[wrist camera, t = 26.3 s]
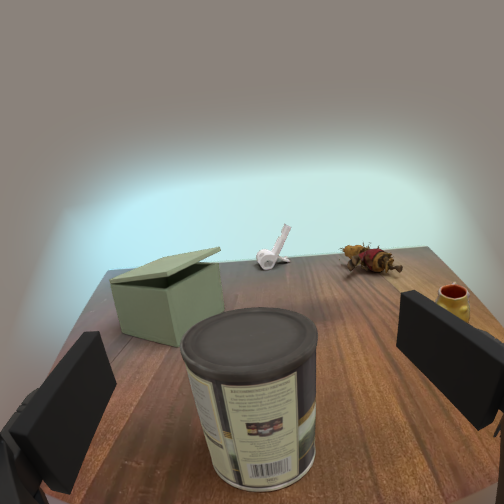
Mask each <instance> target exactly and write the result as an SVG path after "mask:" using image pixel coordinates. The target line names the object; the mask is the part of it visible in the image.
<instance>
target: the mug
mask: <svg viewBox="0 0 504 504" xmlns="http://www.w3.org/2000/svg"><path fill="white" fill-rule="evenodd" d="M469 296H470V294H469V293H468V291H467V289H466V288H465V287H463V286H460V285H457V283H456V282H453V283H452V285H445V286H443V287H441V288H440V289H439V291H438V297H437V299H436V302H435V303H437V304H438V305H440V306H441V307H443V308H445V309H446V310H448V311H449V312H451V313H453V314H454V315H456V316H457V317H459V318H460V319H462V320H463V321H465V322H467V323H469V319H470V305H469V301H468V298H469Z"/></svg>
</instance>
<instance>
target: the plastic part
mask: <svg viewBox="0 0 504 504" xmlns="http://www.w3.org/2000/svg"><path fill="white" fill-rule="evenodd" d="M290 229H291V227H290V226H288V225H286V224H284V227H283V229H282V231H281V233H282V235H281V237H278V239H277V241H276V243H275V245H274V247H273V249H272V251H269V250H267V249H263V250H260V251H259V252H258V253H257V255H256V259H257V261H258V263H259V264H260V266H261V267H262V268H263V269H264V270H268V269H272V268H273V267H274V265H275V262H276V260H277V258H279V259H281V260H282V261H285V262H291V261H290V260H288V259H286V256H285V257H284V258H283V257H281V256H279V253H280V251H281V249H282V247H283V245H284V242H285V240H286V238H287V236H288V233H289V231H290ZM287 258H288V257H287ZM268 260H269V262H268V263H267V261H268Z"/></svg>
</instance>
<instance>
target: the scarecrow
mask: <svg viewBox="0 0 504 504" xmlns="http://www.w3.org/2000/svg"><path fill="white" fill-rule="evenodd" d="M363 246H364V245H363ZM363 246H361V245H355V246H350V245H348V246H346V247H345V248H344V249H343V252H345V256H348V257H349V258H350V259H351V260H350V261H349V262H348V264H347V266H348V268H349V270H350V271H352V270H354V268H355V266H357V265H358V264H359V263H361V267H362V268H363V266H365V268H364V269H366V271H367V269H370V270H372V271H374V272H381V271H383V270H384V269H385V270H386V273H387V272H388V270H389V269H390V270H393V269H396V270H397V271H398V272H399V273H400V272H401V271H402V268H403V267H402V265H400V266H395V267H393V266H394V265H392V264H393V261H394V259H392V258H393V257H390V256H391V255H392V254H390V253H389V254H388V253H387V252H384V251H383V250H381V249H379V248H377V249H370V248H369V246H368V247H367V248H365V247H363ZM378 247H379V246H378ZM341 249H342V248H341ZM389 259H390V260H389ZM339 260H340V259H339ZM362 265H363V266H362ZM367 266H368V267H367ZM356 268H357V267H356ZM362 268H361V269H362Z"/></svg>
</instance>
